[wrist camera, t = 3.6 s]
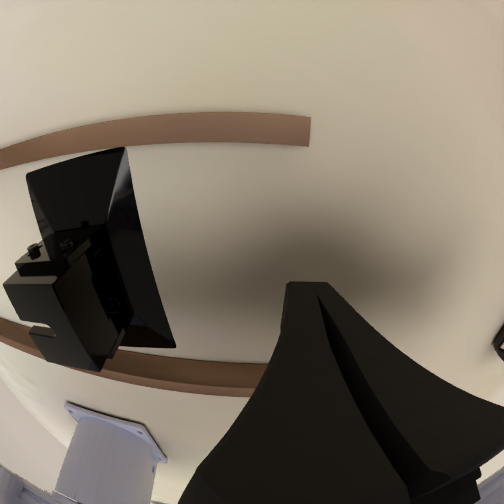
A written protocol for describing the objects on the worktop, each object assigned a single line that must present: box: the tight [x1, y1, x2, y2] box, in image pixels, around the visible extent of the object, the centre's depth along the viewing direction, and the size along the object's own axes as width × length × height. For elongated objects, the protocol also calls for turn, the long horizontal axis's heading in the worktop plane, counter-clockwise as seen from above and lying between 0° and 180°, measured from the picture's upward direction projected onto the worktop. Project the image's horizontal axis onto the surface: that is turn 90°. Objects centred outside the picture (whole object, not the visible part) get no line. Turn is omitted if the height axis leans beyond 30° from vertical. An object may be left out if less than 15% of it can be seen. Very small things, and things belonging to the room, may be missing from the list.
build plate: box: [3, 147, 176, 372], centre depth 9 cm, size 12×7×5 cm, turn 4°
